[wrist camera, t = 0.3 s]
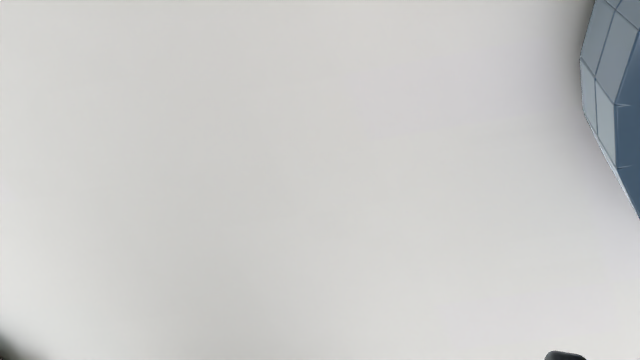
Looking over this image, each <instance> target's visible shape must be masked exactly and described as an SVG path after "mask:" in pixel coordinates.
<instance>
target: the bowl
mask: <svg viewBox="0 0 640 360" xmlns="http://www.w3.org/2000/svg"><path fill="white" fill-rule="evenodd" d="M580 55H581V57H580V73H581V89H582V105H583V111H584V115H585V118H586V120H587V122H588V124H589V126H590V128H591V130H592V132H593V134H594V136H595V139H596V141H597V143H598V145H599V147H600V149H601V151H602V153H603V155H604V157H605V159H606V161H607V163H608V164H609V166H610V168H611V170H612V171H613V173H614V175H615V177H616V179H617V180H618V182H619V184H620V186H621V188H622V189H623V191H624V193H625V195H626V197H627V198H628V200H629V202H630V204H631V205H632V207H633V209H634V211H635V213H636V214H637V216H638V218H639V220H640V0H595V4H594V7H593V11H592V14H591V18H590V21H589V25H588V28H587V32H586V35H585V39H584V42H583V46H582V49H581V53H580Z"/></svg>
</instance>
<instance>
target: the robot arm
mask: <svg viewBox="0 0 640 360" xmlns="http://www.w3.org/2000/svg"><path fill="white" fill-rule="evenodd" d="M544 360H586V359H585V358H584V357H582V356H581V355H578V354H573V353H566V352H560V351H551V352H549V353H548V354H547V355H546V357H545V359H544Z"/></svg>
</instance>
